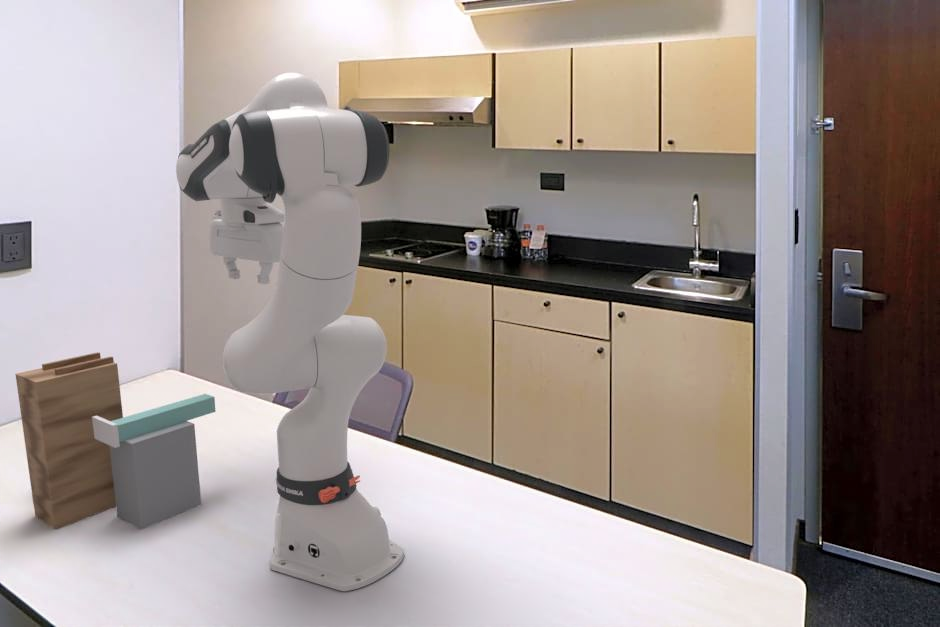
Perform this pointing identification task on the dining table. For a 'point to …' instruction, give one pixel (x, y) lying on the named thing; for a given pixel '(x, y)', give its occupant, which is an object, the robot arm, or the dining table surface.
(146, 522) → the upright gray brick
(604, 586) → the dining table surface
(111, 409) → the upright wood-grain block
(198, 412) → the scraper
